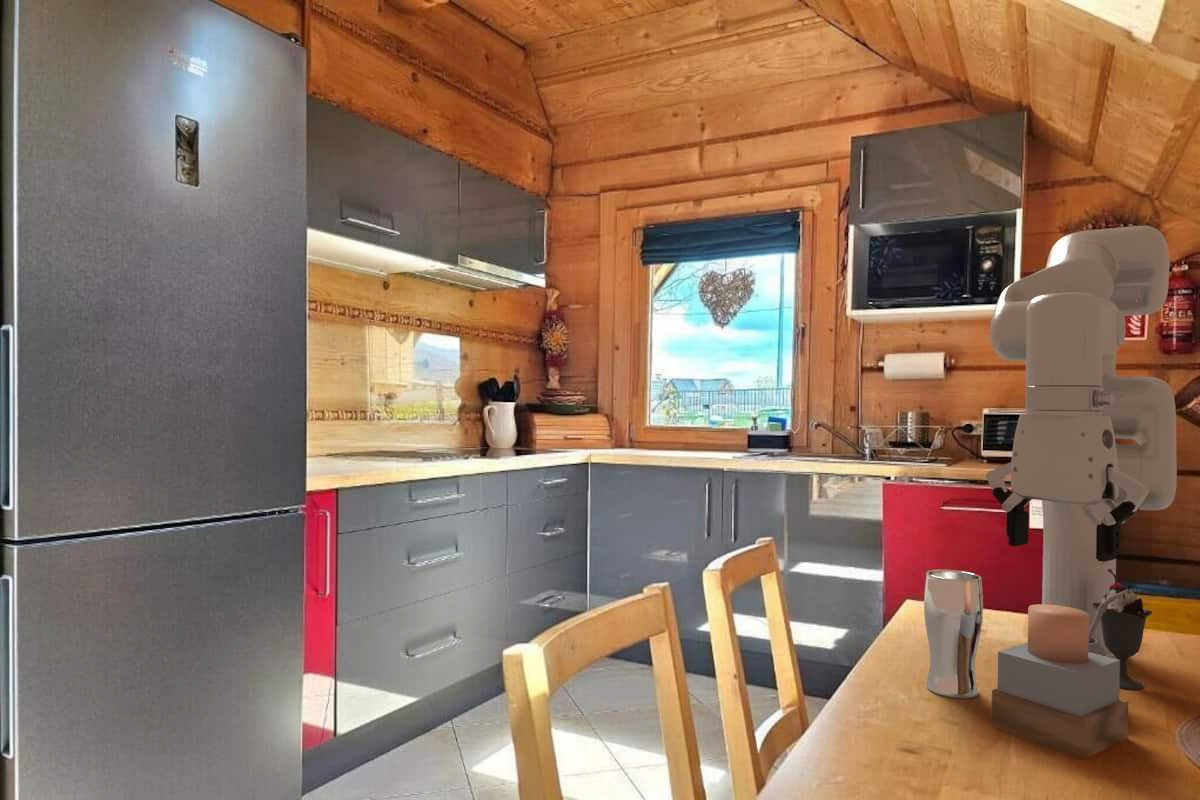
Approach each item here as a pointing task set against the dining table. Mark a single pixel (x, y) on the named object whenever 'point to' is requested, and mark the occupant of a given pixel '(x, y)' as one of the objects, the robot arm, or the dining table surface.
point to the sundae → (1123, 629)
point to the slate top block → (1059, 680)
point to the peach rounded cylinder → (1058, 633)
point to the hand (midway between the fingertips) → (1060, 552)
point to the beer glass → (953, 631)
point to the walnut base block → (1061, 724)
